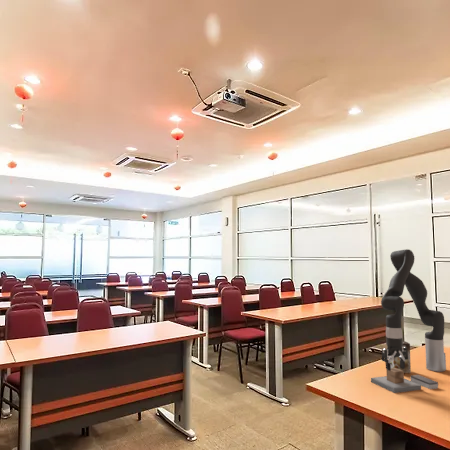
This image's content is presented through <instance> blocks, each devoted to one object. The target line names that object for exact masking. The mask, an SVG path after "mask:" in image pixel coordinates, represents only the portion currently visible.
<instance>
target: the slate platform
mask: <svg viewBox="0 0 450 450" xmlns="http://www.w3.org/2000/svg"><path fill="white" fill-rule="evenodd" d="M370 382H371V383H372V384H375V385H377V386H379V387H380V388H382V389H385V390H387V391H389V392H391V393H393V394H396V393H397V394H398V393H404V392H405V393H406V392H413V391H421V390H422V386H421V385H419V384H417V383H414V382H412V381H411V380H409V379H407V378H405V377H404V383H396V384H395V383H392V382H390V381H388V380H387V375H386V376H384V375H383V376H376V377H371V378H370Z"/></svg>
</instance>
